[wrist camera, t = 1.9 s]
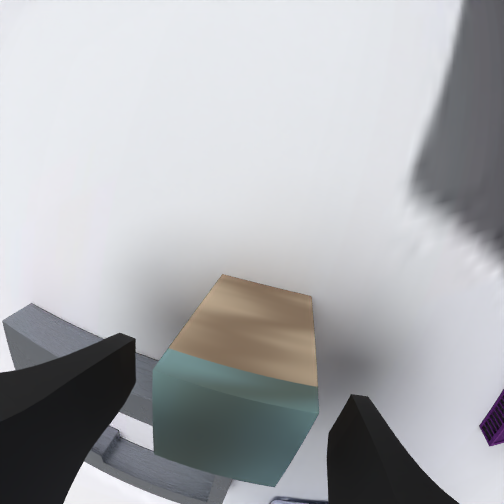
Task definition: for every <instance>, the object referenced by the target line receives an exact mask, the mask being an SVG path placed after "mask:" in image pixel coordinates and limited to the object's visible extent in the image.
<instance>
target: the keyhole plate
mask: <svg viewBox="0 0 504 504" xmlns="http://www.w3.org/2000/svg"><path fill="white" fill-rule="evenodd" d="M2 322H3V326H4V330H5V334H6V338H7V342H8V346H9V350H10V353H11V357H12V360H13V363H14V367H15V370H19V369H24V368H28V367H32V366H36V365H39V364H42V363H45V362H48V361H51V360H54V359H57V358H60V357H62V356H65V355H68V354H71V353H73V352H75V351H78V350H80V349H83V348H85V347H87V346H90V345H92V344H94V343H97V342H99V341H101V340H104V339H102V338H100V337H97V336H95V335H93V334H91V333H88V332H86V331H84V330H82V329H80V328H78V327H76V326H74V325H72V324H70V323H68V322H66V321H64V320H62V319H60V318H58V317H56V316H54V315H52V314H50V313H48V312H46V311H44V310H43V309H41V308H39V307H37V306H35V305H34V304H32V303H31V304H29V305H28V306H26V307H24V308H23V309H21V310H19V311H18V312H16V313H14V314H13V315H11V316H9V317H8V318H6V319H4V320H3V321H2ZM158 362H159V361H157V360H154V359H151V358H148V357H146V356H143V355H141V354H138V353H136V384H135V386H134V387H133V389H132V391H131V393H130V395H129V397H128V399H127V400H126V402H125V404H124V405H123V407H122V408H121V410H120V411H119V412H121V413H123V414H125V415H128V416H130V417H132V418H135V419H137V420H139V421H142V422H144V423H147V424H149V425H152V426H153V405H152V385H153V369H154V367H155V366H156V364H157V363H158ZM84 461H85V462H86V463H88V464H90V465H92V466H94V467H96V468H98V469H99V470H101V471H103V472H105V473H107V474H109V475H111V476H113V477H115V478H117V479H120V480H122V481H124V482H126V483H128V484H131V485H133V486H135V487H137V488H140V489H142V490H145V491H147V492H150V493H152V494H155V495H157V496H160V497H163V498H166V499H168V500H171V501H174V502H177V503H180V504H222V503H223V500H224V498H225V496H226V493H227V491H228V488H229V486H230V483H231V481H232V479H231V478H227V477H223V476H219V475H215V474H212V473H208V472H205V471H201V470H198V469H195V468H191V467H188V466H185V465H182V464H179V463H176V462H173V461H171V460H168V459H165V458H162V457H160V456H157V455H154V452H153V451H151V450H148V449H146V448H143V447H141V446H138V445H136V444H134V443H131V442H129V441H127V440H125V439H123V438H120V436H119V431H118V430H117V429H114V428H112V427H110V426H108V427H107V428H106V430H105V431H104V432H103V434H102V435H101V436H100V438H99V439H98V440H97V442H96V443H95V444H94V446H93V447H92V449H91V450H90V452H89V453H88V455H87V456H86V458H85V460H84Z"/></svg>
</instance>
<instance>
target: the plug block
mask: <svg viewBox="0 0 504 504" xmlns="http://www.w3.org/2000/svg"><path fill="white" fill-rule="evenodd" d="M152 405H153V443H154V455H157V456H160V457H162V458H165V459H168V460H171V461H173V462H176V463H179V464H182V465H185V466H188V467H191V468H195V469H198V470H201V471H205V472H208V473H212V474H215V475H219V476H223V477H227V478H231V479H235V480H240V481H244V482H249V483H254V484H259V485H265V486H271V487H275V486H276V484H277V483H278V481H279V480H280V478H281V477H282V475H283V474H284V472H285V471H286V469H287V468H288V466H289V464H290V463H291V461H292V460H293V458H294V456H295V455H296V453H297V451H298V450H299V448H300V446H301V445H302V443H303V441H304V439H305V438H306V436H307V434H308V432H309V431H310V429H311V427H312V425H313V423H314V422H315V420H316V418H317V416H318V414H319V404H318V381H317V363H316V347H315V333H314V320H313V308H312V297H311V296H308V295H304V294H300V293H296V292H291V291H287V290H283V289H279V288H275V287H271V286H267V285H263V284H259V283H255V282H251V281H247V280H243V279H239V278H235V277H231V276H227V275H224V274H222V275H221V277H220V278H219V279H218V281H217V282H216V283H215V285H214V286H213V288H212V289H211V290H210V292H209V293H208V294H207V296H206V297H205V298H204V300H203V301H202V303H201V304H200V305H199V307H198V308H197V309H196V311H195V312H194V313H193V315H192V316H191V318H190V319H189V320H188V322H187V323H186V324H185V326H184V327H183V329H182V330H181V331H180V333H179V334H178V335H177V337H176V338H175V340H174V341H173V342H172V344H171V345H170V346H169V348H168V349H167V351H166V352H165V353H164V355H163V356H162V357H161V359H160V360H159V362H158V363H157V364H156V366H155V367H154V369H153V385H152Z"/></svg>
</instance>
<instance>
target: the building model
mask: <svg viewBox="0 0 504 504" xmlns="http://www.w3.org/2000/svg"><path fill="white" fill-rule="evenodd" d="M479 427H480V429H481V431H482V432H483V434H484V436H485V438H486V440H487V442H488V444H489V446H493V445H497V444H501V443H504V390H503V391H502V393H501V394H500V396H499V398H498V399H497V401H496V402H495V404H494V405H493V407H492V408H491V410H490V411H489V413H488V414H487V416H486V417H485V419H484V420H483V421H482V423H481V424H480V426H479Z"/></svg>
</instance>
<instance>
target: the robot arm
mask: <svg viewBox="0 0 504 504" xmlns="http://www.w3.org/2000/svg"><path fill="white" fill-rule="evenodd" d="M135 384H136V353H135V338H132V337H130V336H127V335H124V334H122V333H118V334H116V335H113V336H111V337H108V338H106V339H104V340H101V341H99V342H97V343H94V344H92V345H90V346H87V347H85V348H83V349H80V350H78V351H75V352H73V353H71V354H68V355H65V356H62V357H60V358H57V359H54V360H51V361H48V362H45V363H42V364H39V365H36V366H32V367H28V368H24V369H19V370H15V371H10V372H2V373H0V504H63V503H64V500H65V498H66V496H67V493H68V491H69V489H70V487H71V485H72V483H73V481H74V479H75V477H76V475H77V473H78V471H79V469H80V467H81V465H82V464H83V462H84V460H85V458H86V456H87V455H88V453H89V452H90V450H91V449H92V447H93V446H94V444H95V443H96V442H97V440H98V439H99V438H100V436H101V435H102V434H103V432H104V431H105V430H106V428H107V427H108V426H109V424H110V423H111V422H112V420H113V419H114V418H115V416H116V415H117V414H118V412H119V411H120V410H121V408H122V407H123V405H124V404H125V402H126V400H127V399H128V397H129V395H130V393H131V391H132V389H133V387H134V386H135ZM327 476H328V499H329V504H459V503H458V502H457V501H455V500H454V499H453V498H452V497H450V496H449V495H448V494H447V493H445V492H444V491H443V490H442V489H441V488H440V487H439V486H438V485H437V484H436V483H435V482H434V481H433V480H432V479H431V478H430V477H429V476H428V475H427V474H426V473H425V472H424V471H423V470H422V469H421V468H420V467H419V465H418V464H417V463H416V462H415V461H414V459H413V458H412V457H411V456H410V455H409V453H408V452H407V451H406V449H405V448H404V447H403V445H402V444H401V443H400V441H399V440H398V439H397V437H396V436H395V435H394V433H393V432H392V430H391V429H390V427H389V426H388V425H387V423H386V422H385V420H384V419H383V417H382V416H381V414H380V413H379V411H378V410H377V408H376V407H375V406H374V404H373V403H372V401H371V400H370V399H369V397H367V396H359V395H352V394H351V396H350V398H349V399H348V401H347V403H346V405H345V406H344V408H343V410H342V412H341V413H340V415H339V417H338V418H337V420H336V422H335V423H334V425H333V427H332V428H331V430H330V431H329V435H328V447H327ZM271 504H307V503H297V502H288V501H280V500H275V501H272V502H271Z"/></svg>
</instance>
